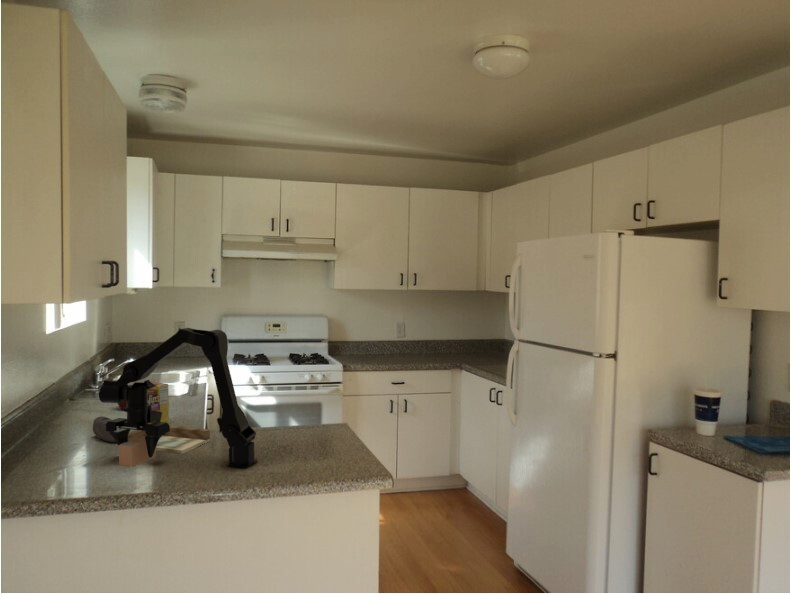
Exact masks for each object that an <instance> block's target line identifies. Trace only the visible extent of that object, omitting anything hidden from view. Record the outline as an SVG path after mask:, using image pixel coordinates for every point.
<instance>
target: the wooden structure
mask: <svg viewBox="0 0 791 594" xmlns="http://www.w3.org/2000/svg"><path fill="white" fill-rule="evenodd" d="M169 426H170V432H167V433H166V434H165V435H163V436H161V437H160V439H159V441H158V443H157V445H156V452H164V453H165V452H166V453H174V454H185V453H187V452H190V451H192V450H194V449H196V448H198V446H199V447H200V445H201V446H202V444H203V445H205V444H207V442H208V443H210V442H211V436H210V435H211V432H210V431H211V430H210V429H208V428H207V429H206V428H197V427H186V426H177V425H169ZM143 436H148V435H147V434H146V433H145V431H142V430H133V431H130V432H129V434H128V442H129V441H132V440H134V439H137V438H140V437H143ZM209 441H210V442H209ZM204 443H205V444H204Z"/></svg>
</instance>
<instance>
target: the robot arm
mask: <svg viewBox="0 0 791 594" xmlns="http://www.w3.org/2000/svg"><path fill="white" fill-rule="evenodd" d="M186 344H189V345H192V346H195V347H200V348H201V350H202V352H203V354H204V356H205V358H206V359H207V360H208V362H209V364H210V366H211V370H212V374H213V378H214V381H215V387H216V389H217V394H218V398H219V402H220V406H221V411H222V412H221V416H219V417H218V418H216V422H217V424H218V427H219V431H218V432H219V434H220V433H221V434H222V437H223V438H224V439H226V442H227V444H228V446H229V447H228V463H227V464H226V466H227V467H234V468H243V469H247V468H249V467H251V466H252V465H254V464H255V463H257V462H258V460H257V459H255V442H253V440H255V439H256V436H257V432H256V431H255V429H254V428H252V426H250V425H249V422H248V421H249V420H248V419H247V417H246V414H245V412H244V410H243V409H242V408H241V407H240V406H239V404H238V400H237V396H236V392H235V387H234V383H233V379H232V375H231V371H230V367H229V362H228V359H227V357H228V351H229V344H228V336H227V334H226V332H224V331H223V330H221V329H212V330H205V329H195V328H191V327H185V328H180V329H179V330H178V331H176V333H175V334H173V335H172V336H171V337H169V338H168V339H167V340H165V341H164V342H163V343H161V344H159V345H158V346H156V348H154V349H153V350H152V351H150V352H148V353H147V354H146V355H143V356H141V357H138V358H136V359H134V360H132V361H130V362H128V363H126V364H125V365H124V366H123V368H122V373H121V374H120V376H119V377H118V379H108V378H107V379H104V380H102V385H101V387H100V389H99V392H98V399H99V401H100V402H101V403H103V404H106V403H110V404H118V403H123V402H124V401H125V400H126V399H127V407H126V408H124V411H123V412H124V413H126V418H122V417H117V418H114V419H112V420H111V421H108V422H107V424H106V431H109V434H111V435H112V436H113V438H114V439H115V441H116V442H115V443H117V446H118V447H119V445H120V444H122V443H125V442H128V434H129V433H130V432H131V431H132V430H133V431H136V430H142V431H145V433H146V434H147V435H148V436H145V440H146V446H147V452H148V456H149V458H151V457H152V456H153V454H154V451H155V448H156V445H157V443H158V441H159V439H160V437H161V436H163V435H165V434H166V433H167V432H170V426H171V425H170V423H169V424H168V423H166V422H160V421H161V416H162V412H159V411H154V410H152V409H151V405H148V389H151V388H153V387H155V385H154V384H153V383H151V382H152V381H150V379H147V378H148V377H150V375H151V374H152V373H153V372H154V371H155V370H156V369H157V367H158V366H159V364H160V363H161V362H163V361H164V360H165V359H167V358H168V357H170V356H171V355H172V354H174V353H175V352H176V351H178V350H179V349H180V348H182V347H183V346H185V345H186ZM145 379H147V380H145ZM141 380H144V382H140V381H141ZM138 381H139V382H138ZM129 383H133V385H128V384H129ZM153 421H156V422H155V423H153V424H148V423H152V422H153Z"/></svg>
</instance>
